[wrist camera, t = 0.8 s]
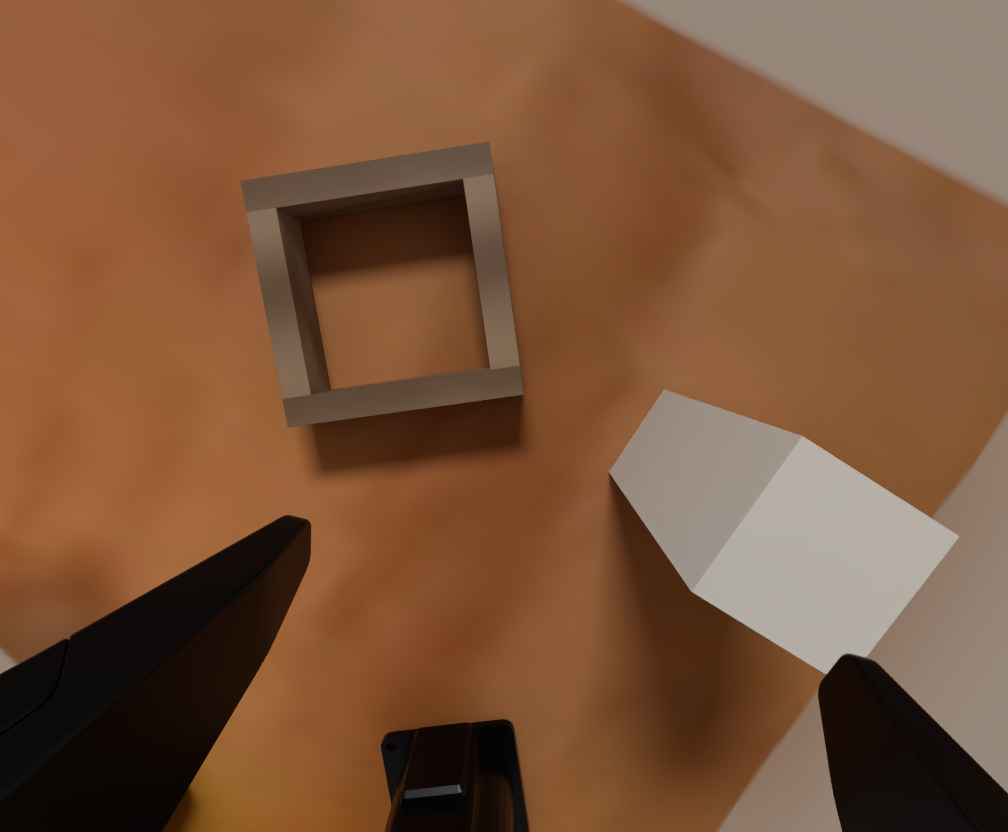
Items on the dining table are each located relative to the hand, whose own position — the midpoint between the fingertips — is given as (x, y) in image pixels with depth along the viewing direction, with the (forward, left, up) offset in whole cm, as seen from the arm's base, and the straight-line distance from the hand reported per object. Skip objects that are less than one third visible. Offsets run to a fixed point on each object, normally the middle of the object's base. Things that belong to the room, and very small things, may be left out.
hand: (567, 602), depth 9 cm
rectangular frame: (+7, +5, -17) cm, 19 cm away
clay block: (-2, -6, -17) cm, 18 cm away
